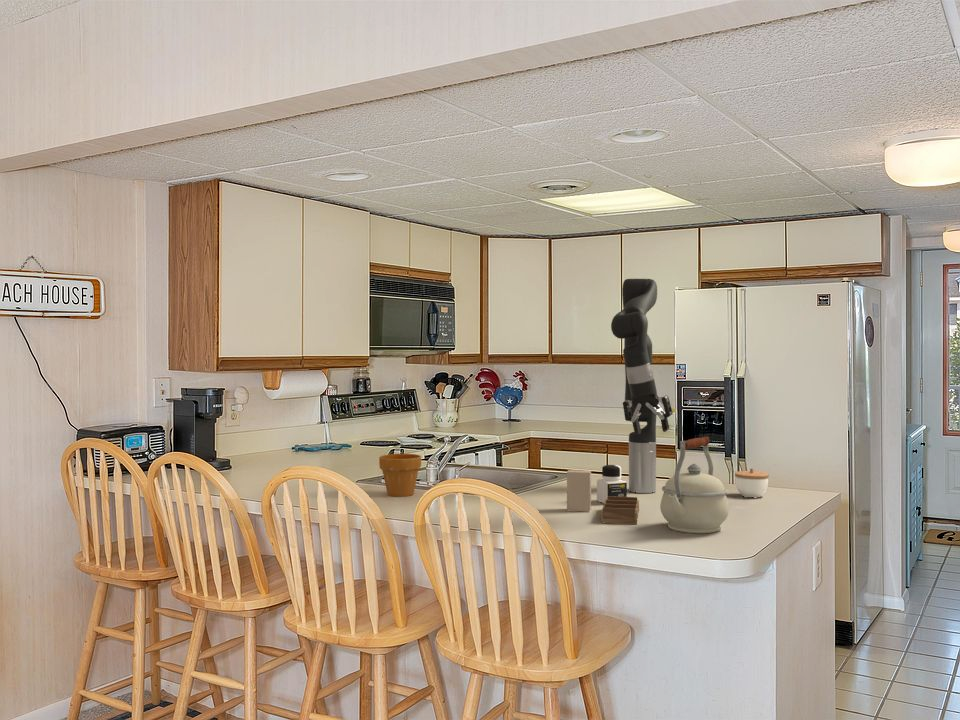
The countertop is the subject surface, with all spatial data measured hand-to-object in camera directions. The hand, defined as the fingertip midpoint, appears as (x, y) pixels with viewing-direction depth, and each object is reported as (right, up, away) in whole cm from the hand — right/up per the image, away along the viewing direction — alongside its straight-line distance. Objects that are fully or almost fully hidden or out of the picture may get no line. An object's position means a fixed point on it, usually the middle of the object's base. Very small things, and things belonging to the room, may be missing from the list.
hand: (652, 432), depth 254 cm
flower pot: (-78, -24, +36) cm, 89 cm away
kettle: (+7, -25, -18) cm, 32 cm away
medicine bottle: (-9, -25, +21) cm, 33 cm away
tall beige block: (-21, -25, +8) cm, 33 cm away
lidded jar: (+40, -24, +32) cm, 56 cm away
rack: (-10, -25, -1) cm, 27 cm away
